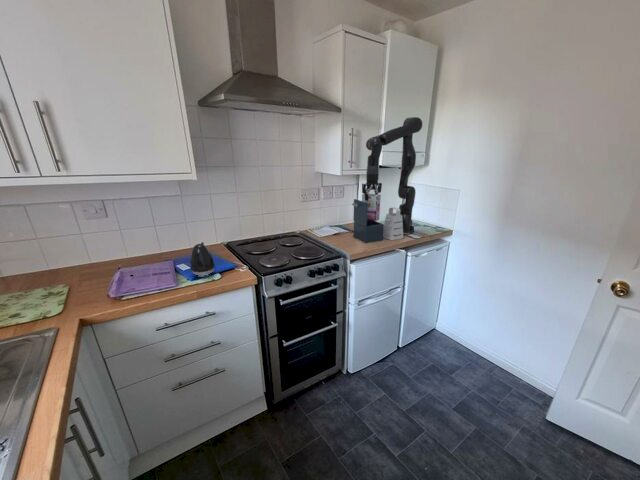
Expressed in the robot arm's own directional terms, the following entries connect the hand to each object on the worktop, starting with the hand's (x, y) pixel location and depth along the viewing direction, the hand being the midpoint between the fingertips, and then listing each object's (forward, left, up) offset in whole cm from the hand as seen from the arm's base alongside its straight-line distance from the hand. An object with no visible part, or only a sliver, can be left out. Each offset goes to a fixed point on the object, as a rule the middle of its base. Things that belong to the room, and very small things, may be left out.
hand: (371, 199), depth 191 cm
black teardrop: (+103, +14, -26) cm, 107 cm away
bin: (+1, 0, -26) cm, 26 cm away
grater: (-16, +5, -26) cm, 31 cm away
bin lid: (+8, 0, -7) cm, 11 cm away
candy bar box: (0, 0, -13) cm, 13 cm away
